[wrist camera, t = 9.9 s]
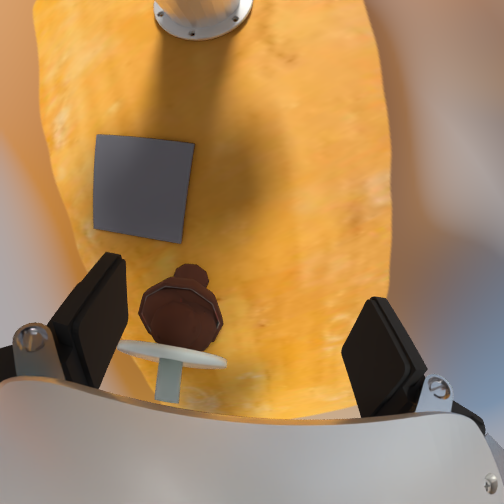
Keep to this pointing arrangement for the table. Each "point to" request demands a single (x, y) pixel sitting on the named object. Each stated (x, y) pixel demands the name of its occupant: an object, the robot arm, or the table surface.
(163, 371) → the lid
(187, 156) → the mat
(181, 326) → the ice cream bowl
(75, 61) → the table surface
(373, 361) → the robot arm
